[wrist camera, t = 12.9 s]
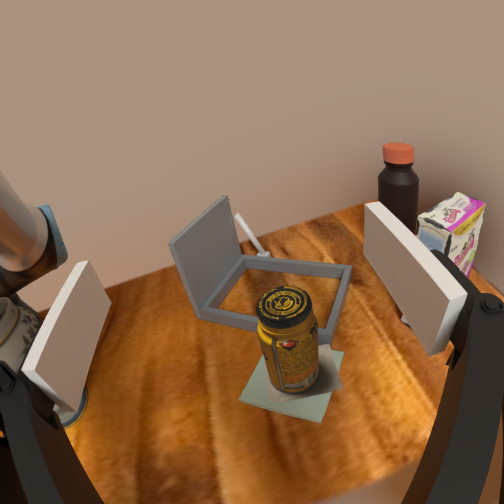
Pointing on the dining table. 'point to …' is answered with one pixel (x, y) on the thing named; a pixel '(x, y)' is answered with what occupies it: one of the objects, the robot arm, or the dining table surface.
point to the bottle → (399, 184)
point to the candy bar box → (452, 230)
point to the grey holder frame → (238, 268)
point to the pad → (299, 408)
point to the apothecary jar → (26, 348)
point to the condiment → (293, 347)
